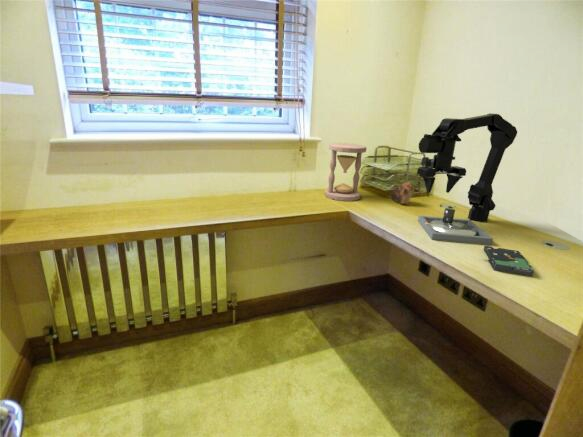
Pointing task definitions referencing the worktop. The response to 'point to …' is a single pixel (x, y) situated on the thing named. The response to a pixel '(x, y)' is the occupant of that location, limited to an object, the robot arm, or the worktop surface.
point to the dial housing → (478, 239)
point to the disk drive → (508, 261)
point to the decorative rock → (402, 193)
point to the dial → (451, 225)
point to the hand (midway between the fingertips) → (437, 193)
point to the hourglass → (343, 190)
